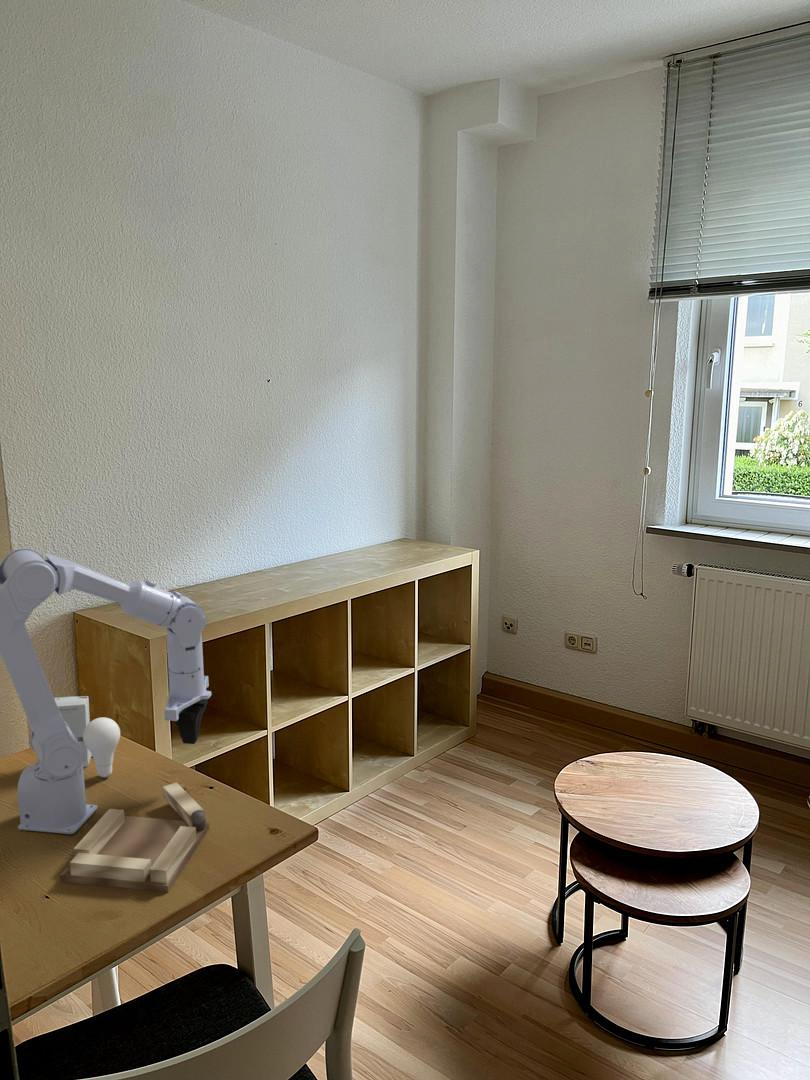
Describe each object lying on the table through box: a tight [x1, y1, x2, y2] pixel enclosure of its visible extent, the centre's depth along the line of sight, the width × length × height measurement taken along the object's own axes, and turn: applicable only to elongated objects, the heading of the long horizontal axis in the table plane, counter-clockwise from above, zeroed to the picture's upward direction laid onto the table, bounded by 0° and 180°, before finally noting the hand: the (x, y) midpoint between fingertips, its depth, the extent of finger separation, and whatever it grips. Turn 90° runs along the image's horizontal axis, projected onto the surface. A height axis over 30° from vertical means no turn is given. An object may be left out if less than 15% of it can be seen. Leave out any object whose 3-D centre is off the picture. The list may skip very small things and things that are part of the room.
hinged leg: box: [162, 782, 207, 830], centre depth 136 cm, size 12×2×2 cm, turn 37°
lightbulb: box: [83, 716, 121, 779], centre depth 148 cm, size 6×6×11 cm
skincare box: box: [54, 695, 93, 768], centre depth 153 cm, size 6×4×12 cm
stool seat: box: [59, 808, 210, 893], centre depth 127 cm, size 16×16×3 cm
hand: (190, 741), depth 145 cm, fingers closed
